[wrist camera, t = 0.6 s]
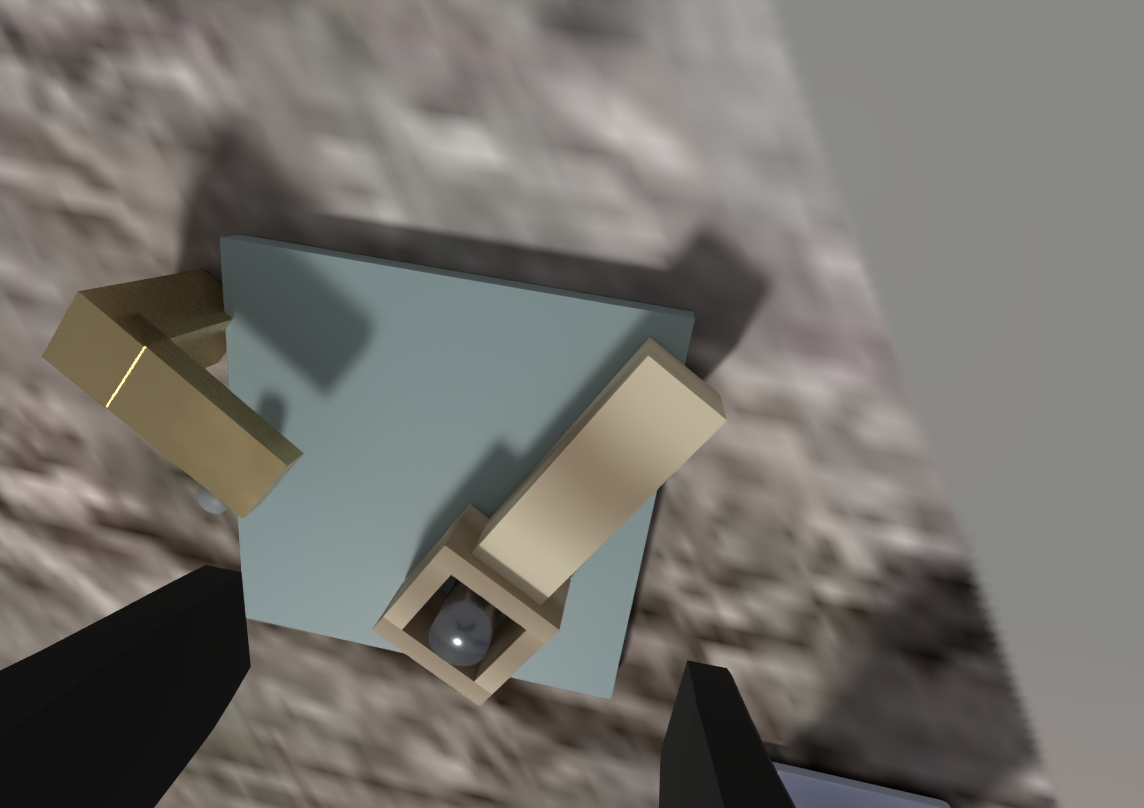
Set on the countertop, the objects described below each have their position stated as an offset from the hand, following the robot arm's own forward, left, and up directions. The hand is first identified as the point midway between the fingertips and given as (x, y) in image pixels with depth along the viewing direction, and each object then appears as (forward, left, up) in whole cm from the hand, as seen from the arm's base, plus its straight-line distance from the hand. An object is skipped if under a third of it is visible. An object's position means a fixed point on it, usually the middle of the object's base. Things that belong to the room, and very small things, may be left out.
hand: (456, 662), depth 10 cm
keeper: (0, +10, -10) cm, 14 cm away
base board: (-3, +4, -10) cm, 11 cm away
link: (-2, 0, -9) cm, 9 cm away
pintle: (-6, +2, -10) cm, 12 cm away
